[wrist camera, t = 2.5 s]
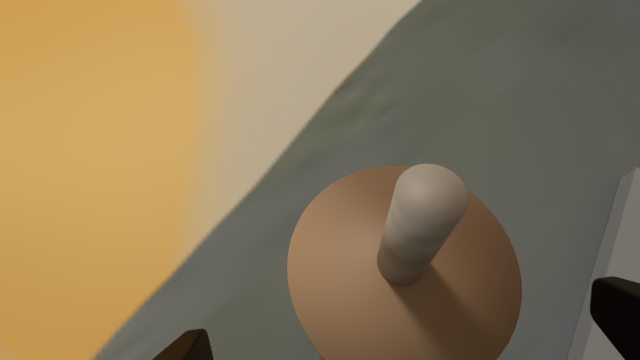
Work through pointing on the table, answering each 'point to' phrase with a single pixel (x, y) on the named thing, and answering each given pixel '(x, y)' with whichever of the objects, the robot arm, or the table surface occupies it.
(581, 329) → the grey flat block
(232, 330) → the table surface
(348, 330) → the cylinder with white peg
